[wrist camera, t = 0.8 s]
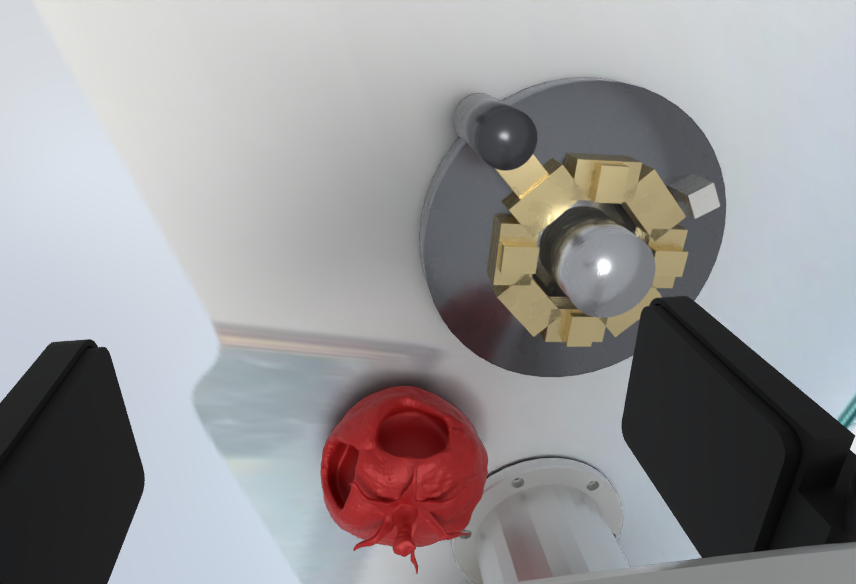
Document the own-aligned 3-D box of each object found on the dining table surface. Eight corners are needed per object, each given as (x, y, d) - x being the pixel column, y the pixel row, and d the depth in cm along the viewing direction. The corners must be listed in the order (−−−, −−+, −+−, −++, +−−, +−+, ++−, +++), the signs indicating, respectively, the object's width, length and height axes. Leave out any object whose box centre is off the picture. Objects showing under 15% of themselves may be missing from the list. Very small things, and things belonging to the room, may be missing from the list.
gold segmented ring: (699, 250, 33) (765, 292, 28) (558, 359, 35) (595, 417, 30) (545, 24, 27) (593, 25, 22) (385, 170, 29) (394, 202, 24)
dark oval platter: (724, 300, 37) (794, 351, 32) (474, 397, 38) (498, 465, 32) (679, 25, 30) (761, 25, 24) (372, 151, 31) (378, 181, 25)
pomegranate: (497, 449, 40) (538, 562, 32) (369, 513, 41) (376, 639, 33) (431, 341, 36) (458, 438, 28) (291, 414, 37) (275, 530, 28)
